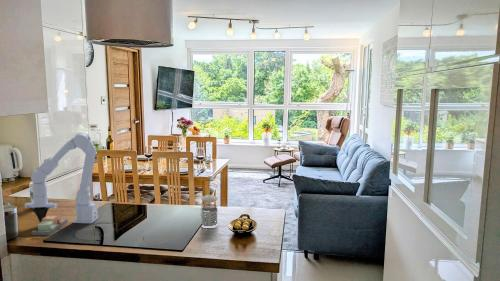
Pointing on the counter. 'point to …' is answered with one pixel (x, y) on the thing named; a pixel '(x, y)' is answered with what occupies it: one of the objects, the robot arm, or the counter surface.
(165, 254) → the counter surface
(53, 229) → the cable comb
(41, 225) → the sage plug
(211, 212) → the french press
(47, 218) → the terracotta plug
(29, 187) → the syrup box
